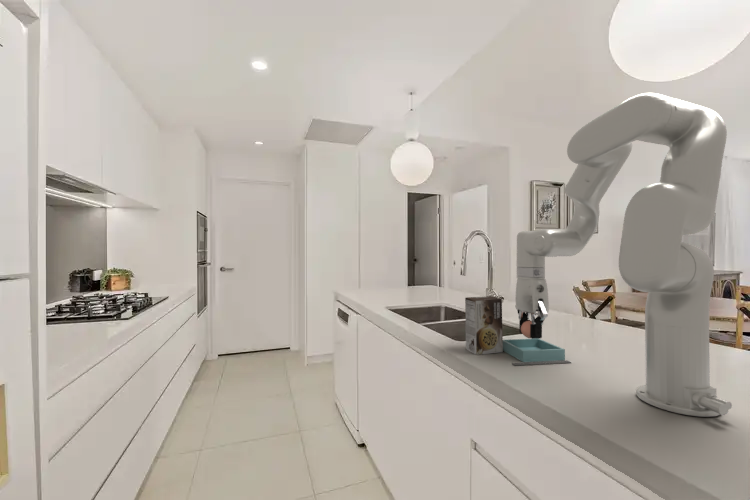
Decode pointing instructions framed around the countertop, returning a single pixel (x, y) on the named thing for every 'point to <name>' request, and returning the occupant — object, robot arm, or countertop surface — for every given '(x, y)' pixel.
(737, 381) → the countertop surface
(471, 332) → the coffee box
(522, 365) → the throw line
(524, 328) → the ball
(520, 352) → the tray
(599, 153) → the robot arm
